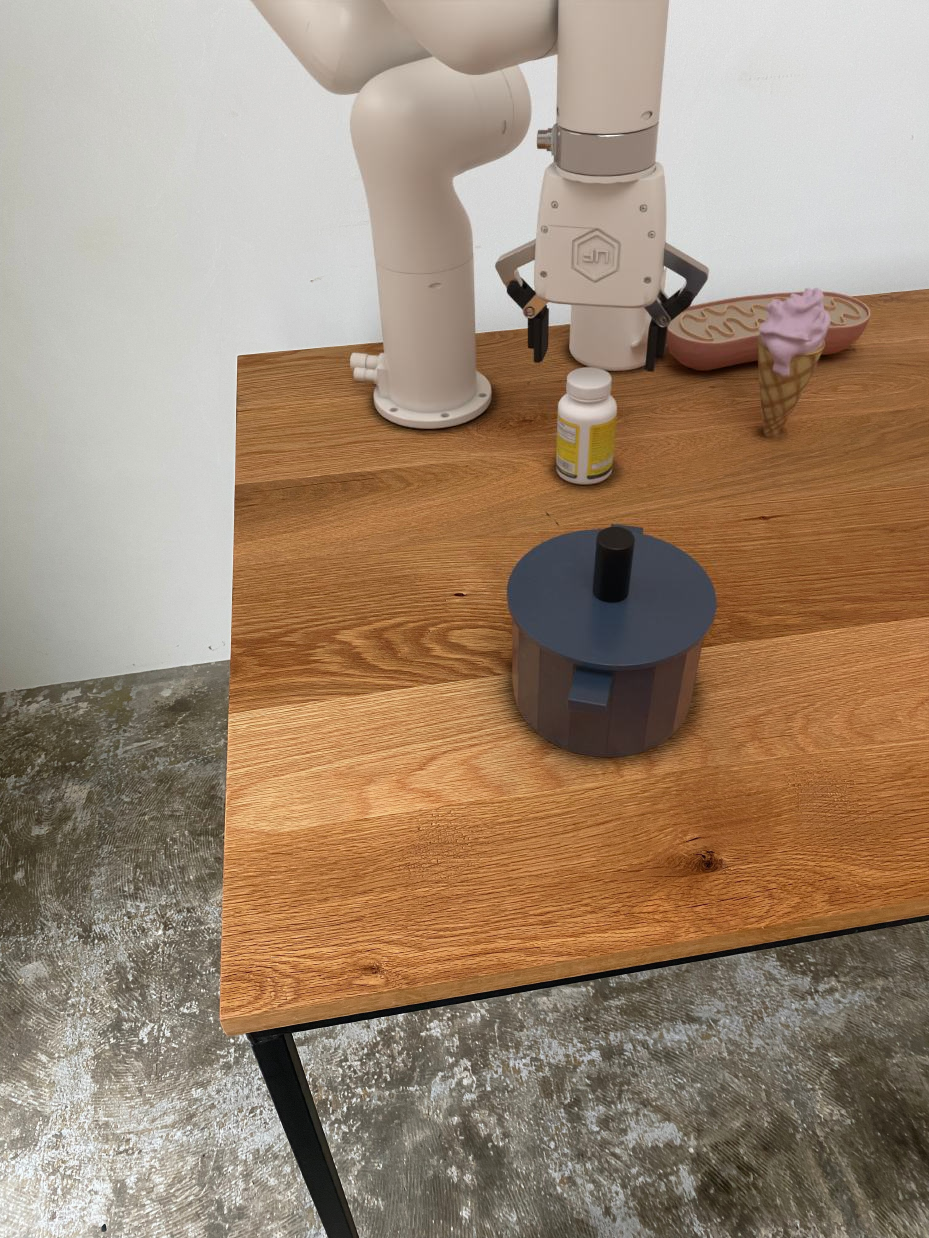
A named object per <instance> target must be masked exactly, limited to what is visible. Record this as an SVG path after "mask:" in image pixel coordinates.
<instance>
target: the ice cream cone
mask: <svg viewBox="0 0 929 1238" xmlns="http://www.w3.org/2000/svg"><path fill="white" fill-rule="evenodd" d="M822 291H823V290H821V289H820V288H818V287H815V288H813V289H812V288H810V287H806V288H804V291H803V292H804V293H803V295H802V296H800V295H797V294H791V295H790V299H787V300H785V301H781V300H779V299H774V300H772V301H771V302H770V303H769V304H767V305H766V306H765V307H766V310H767V311H768V312H769V316H768V318H767V320H766V321H765V322H762V324H760V326H759V332H760V334H759V337H758V360H757V367H758V368H757V369H758V370H757V371H758V387H759V388H758V389H759V396H760V397H759V398H760V399H759V400H760V409H761V418H762V419H761V420H762V426H763V435H764V436H765V437H767V438H771V439H775V438H778V436H779V434H780V433H781V432H782V430H783V428H784V427H785V425H786V423H787V422H788V419H789V418H790V416H791V414H792V412H793V411H794V409H795V407H796V406H797V404H798V402H799V400H800V398H801V396H802V394H803V392H804V391H805V389H806V387H807V385H808V383H809V381H810V379H811V377H812V375H813V373H814V371H815V368H816V367H817V364H818V361H819V359H820V358H821V356H822V355H821V353H822V351H823V349H824V346H825V341H824V338H825V336H826V334H827V330H828V328H829V325H830V322H831V319H830V315H829V314H828V313H827V312H826V311H825V310H824V305H823V298H824V295H823V293H822Z"/></svg>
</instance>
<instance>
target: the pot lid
mask: <svg viewBox="0 0 929 1238" xmlns="http://www.w3.org/2000/svg"><path fill="white" fill-rule="evenodd" d="M717 600H718V599H717V594H716V589H715V587H714V584H713V582H712V579H711V578H710V576H709V575H708V573H707V572H706V570H705V569H704V567H702V565H701V564H700V563H698V561H696V559H694V558H693V557H692V556H691V555H689V554H688V553H687V552H685V551H684V550H682V549H680V548H679V547H677V546H675V545H674V544H672V543H669V542H667V541H665V540H663V539H661V538H657V537H655V536H652V535H649V534H645V533H643V534H641V533H638V532H632V531H629V530H627V529H625V528H622V527H611V526H608V527H604V528H591V529H582V530H576V531H571V532H567V533H564V534H560V535H557V536H555V537H552V538H549V539H547V540H544V541H543V542H541V543H539V544H537V545H536V546H534V547H532V548H531V549H530V550H529V551H527V552H526V553H525V554H524V555H523V556H522V557H521V558H519V560H518V561H517V563H516V564H515V566H514V567H513V568H512V571H511V573H510V575H509V577H508V581H507V584H506V603H507V610H508V612H509V614H510V617H511V620H512V619H513V621H514V622H515V624H516V626H517V627H518V628H519V630H520V631H521V632H522V633H523V635H524V636H526V637H527V638H528V639H529V640H530V641H531V642H532V643H533V644H535V645H536V646H538V647H539V648H540V649H542V650H543V651H545V652H547V653H549V654H551V655H552V656H555V657H557V658H559V659H562V660H564V661H567V662H570V663H573V664H576V665H579V666H584V667H589V668H593V669H602V670H619V671H624V670H638V669H644V668H650V667H654V666H658V665H661V664H665V663H667V662H670V661H672V660H675V659H677V658H679V657H681V656H682V655H684V654H686V653H688V652H689V651H690V650H692V649H693V648H694V647H696V646H697V645H698V644H699V643H700V642H701V641H702V640H703V641H704V640H705V638H706V636H707V635H708V634H709V632H710V631H711V628H712V627H713V623H714V621H715V617H716V612H717V607H718V605H717Z"/></svg>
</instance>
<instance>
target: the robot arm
mask: <svg viewBox="0 0 929 1238" xmlns="http://www.w3.org/2000/svg"><path fill="white" fill-rule="evenodd" d="M249 1H250V2H251V3H252V4H253V5H254V7H255V9H256V10H257V11H258V12H259V14H260V15H261V16H262V17H263V19H264V20H265V21H266V22H267V24H268V25H269V26H270V28H271V29H272V30H273V31H274V32H275V34H276V35H277V36H278V38H279V39H280V40H281V41H282V42H283V44H284V45H285V46H286V47H287V49H288V50H289V51H290V52H291V54H292V55H293V56H294V57H295V58H296V60H297V61H298V62H299V63H300V64H301V66H302V67H303V69H305V71H306V72H307V73H308V74H309V75H310V76H311V77H312V78H313V79H314V81H315V82H317V83H318V84H319V86H321V87H322V88H323V89H325V90H326V91H328V92H329V93H331V94H334V95H337V96H338V95H340V96H348V95H355V94H356V97H355V99H354V101H353V103H352V106H351V110H350V116H349V131H350V132H349V133H350V138H351V144H352V148H353V152H354V155H355V159H356V163H357V165H358V170H359V173H360V176H361V180H362V184H363V187H364V192H365V198H366V203H367V208H368V213H369V219H370V228H371V236H372V245H373V256H374V261H375V262H374V263H375V273H376V284H377V294H378V304H379V314H380V325H381V326H380V327H381V334H382V345H383V346H382V347H383V352H380V353H379V354H378V355H374V354H370V353H364V352H363V353H361V352H352V353H351V355H350V358H349V366H350V370H351V371H352V372H353V373H352V374H353V380H354V381H355V382H356V381H357V382H373V383H374V385H375V387H374V390H373V403H374V407H375V410H376V411H377V412H378V413H379V415H381V416H382V417H383V418H385V419H386V420H388V421H389V422H391V423H394V424H396V425H399V426H403V427H406V428H411V429H413V428H414V429H419V430H420V429H421V430H424V429H425V430H434V429H445V428H449V427H456V426H458V425H462V424H465V423H467V422H470V421H471V420H474V419H476V418H477V417H478V416H480V415H482V414H483V413H484V412H485V411H486V410H487V409H488V408H489V406H490V404H491V401H492V396H493V395H492V385H491V383H490V381H489V380H488V379H487V377H486V376H485V375H484V374H482V373H481V372H479V371H478V370H477V339H476V335H477V333H476V300H475V299H476V298H475V295H476V294H475V260H474V259H475V258H474V236H473V228H472V222H471V219H470V217H469V214H468V211H467V210H466V208H465V206H464V204H463V203H462V201H461V199H460V198H459V195H458V193H457V191H456V190H455V187H454V186H455V185H454V179H455V177H457V176H459V175H462V174H464V173H466V172H468V171H470V170H473V169H476V168H478V167H482V166H484V165H487V164H489V163H492V162H494V161H497V160H499V159H501V158H504V157H505V156H506V157H507V155H509V154H511V153H512V152H513V151H514V150H516V149H517V148H518V147H519V146H520V145H521V144H522V142H523V141H524V140H525V138H526V136H527V133H528V131H529V129H530V126H531V121H532V112H533V111H532V109H533V108H532V98H531V94H530V93H531V92H530V90H529V87H528V86H529V85H528V83H527V80H526V78H525V75H524V73H523V72H522V70H521V68H520V66H519V65H522V64H525V63H528V62H533V61H538V60H542V59H546V58H550V57H553V56H556V57H557V60H556V61H557V63H556V64H557V65H556V70H557V71H556V117H555V118H556V119H555V123H554V125H553V126H552V127H548V128H547V129H538V130H537V134H536V149H537V150H546V152H551V156H553V162H551V163H550V164H549V165H548V166H547V167H545V170H544V173H543V176H542V177H543V178H542V183H541V188H540V195H539V202H538V209H537V210H538V212H537V221H536V223H537V224H536V231H535V238H534V239H532V240H530V241H528V242H526V243H524V244H521V245H519V246H518V247H516V248H514V249H512V250H510V251H508V252H505V253H504V254H501V255H500V256H499V257H498V258H497V260H496V262H495V263H494V264H495V265H494V268H495V271H496V272H497V274H498V276H499V279H500V280H501V282H502V284H503V285H504V286H505V288H506V294H507V295H508V296H509V297H510V298H511V300H512V301H513V302H514V303H515V304H516V305H517V306H518V307H519V308H520V309H521V310H522V314H523V316H524V317H525V318H526V319H527V349H528V350H529V349H531V350H533V363H536V364H540V363H542V362H543V361H544V359H545V357H546V354H547V352H548V349H549V338H550V337H549V336H550V335H549V334H550V333H549V332H550V328H549V327H550V323H549V322H550V308H549V307H548V303H551V304H558V305H570V306H571V305H582V306H597V307H613V308H643V307H644V308H645V310H646V311H647V312H648V314H649V315H650V316H651V322H650V325H649V330H648V341H647V352H646V363H645V365H644V370H646V371H647V372H650V373H654V371H655V366H656V362H657V359H662V360H663V359H665V355H666V350H667V349H666V347H667V344H666V339H667V329H668V325H669V324H670V322H671V321H672V320H673V319H674V318H676V317H677V316H678V315H679V314H681V313H682V312H683V311H684V310H686V309H687V308H688V307H689V306H692V303H693V301H694V300H695V298H696V297H697V296H698V294H699V293H700V291H701V290H702V289H703V287H704V286H705V284H706V283H707V281H708V279H709V275H710V269H709V267H708V266H706V265H705V264H703V263H701V262H700V261H698V260H696V259H694V257H691V255H688V254H686V253H684V252H683V251H682V250H680V249H678V248H676V247H675V246H673V245H672V244H669V243H668V242H667V191H666V189H667V187H666V179H665V178H666V176H665V171H664V170H665V169H664V166H663V164H661V162H659V161H657V149H658V139H659V126H660V115H661V104H662V103H661V102H662V92H663V79H664V67H665V56H666V55H665V54H666V44H667V32H668V31H667V30H668V21H669V7H670V0H249ZM533 261H534V266H533V267H534V268H533V286H534V289H533V287H531V286H530V285H529V284H528V282H527V281H526V280H525V279H524V278H523V277H521V274H520V271H519V269H518V268H521V267H522V266H525V265H526V264H529V263H531V262H533ZM664 266H665V267H667V269H669V270H671V271H672V272H673V273H675V274H677V275H679V276H681V277H682V278H683V279H685V282H684V283H683V285H682V287H681V288H679V289H678V290H677V291H675V293H673V294H671V296H668V294H667V293H666V291H665V290H664V291H663V289H662V288H661V280H662V275H663V271H664Z"/></svg>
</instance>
